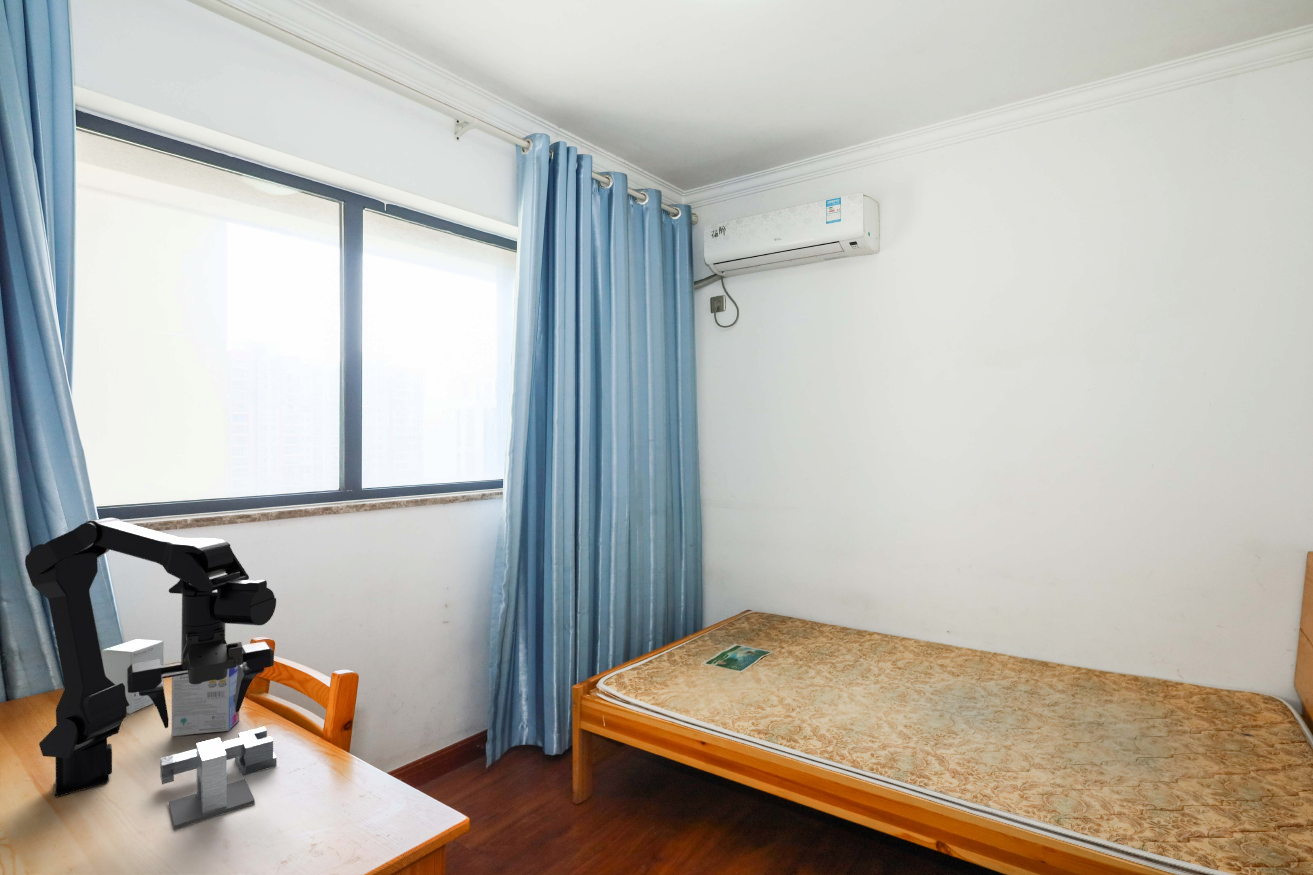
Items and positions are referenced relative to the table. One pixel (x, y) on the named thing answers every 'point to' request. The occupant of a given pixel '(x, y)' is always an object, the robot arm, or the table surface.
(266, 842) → the table surface
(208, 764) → the brushed aluminum pillar
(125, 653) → the supplement box
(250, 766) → the vise
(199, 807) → the mat
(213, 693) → the ink cartridge box
